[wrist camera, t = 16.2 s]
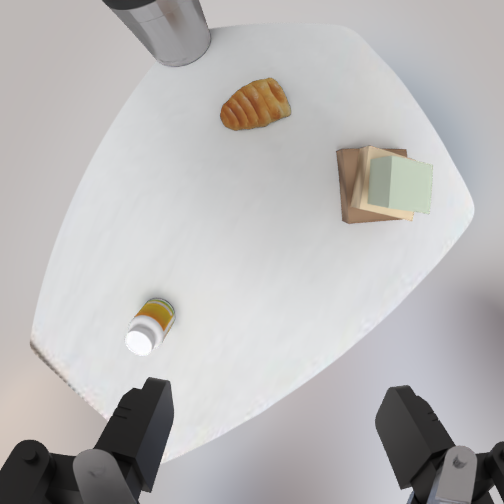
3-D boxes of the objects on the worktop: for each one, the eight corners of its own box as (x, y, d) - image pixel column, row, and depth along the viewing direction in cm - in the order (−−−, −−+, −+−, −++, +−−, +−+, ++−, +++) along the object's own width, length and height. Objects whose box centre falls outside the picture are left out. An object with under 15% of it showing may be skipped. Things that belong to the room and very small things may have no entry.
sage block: (370, 159, 31) (391, 155, 25) (407, 166, 31) (432, 164, 25) (367, 203, 32) (388, 208, 26) (404, 208, 32) (429, 214, 26)
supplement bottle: (143, 295, 42) (118, 322, 33) (175, 299, 42) (155, 329, 33) (145, 324, 43) (122, 356, 34) (175, 329, 44) (158, 363, 34)
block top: (359, 148, 34) (369, 145, 30) (408, 163, 34) (421, 162, 30) (350, 206, 36) (359, 208, 32) (400, 217, 36) (412, 221, 32)
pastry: (234, 143, 37) (231, 139, 33) (212, 104, 36) (207, 96, 32) (294, 115, 36) (297, 108, 32) (271, 77, 34) (272, 67, 31)
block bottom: (335, 151, 37) (342, 149, 34) (395, 151, 37) (406, 149, 33) (341, 220, 39) (348, 223, 36) (399, 215, 39) (410, 218, 36)
